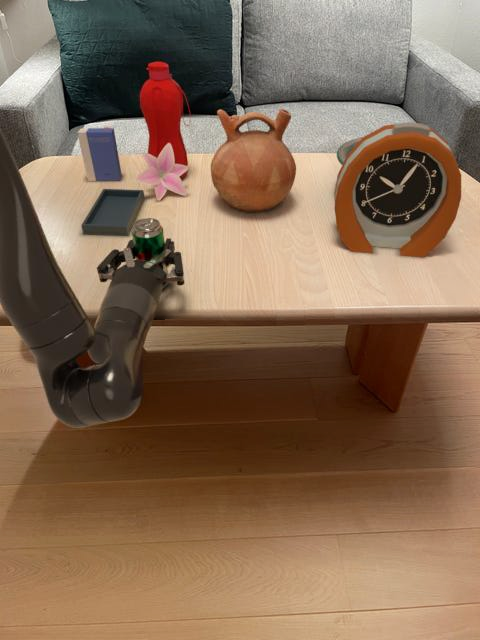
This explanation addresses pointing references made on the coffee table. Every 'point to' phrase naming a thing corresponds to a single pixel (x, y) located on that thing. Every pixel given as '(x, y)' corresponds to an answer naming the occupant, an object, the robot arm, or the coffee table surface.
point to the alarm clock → (398, 191)
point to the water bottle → (163, 112)
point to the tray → (113, 212)
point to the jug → (253, 163)
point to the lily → (163, 173)
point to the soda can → (148, 239)
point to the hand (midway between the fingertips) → (153, 242)
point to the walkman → (100, 154)
